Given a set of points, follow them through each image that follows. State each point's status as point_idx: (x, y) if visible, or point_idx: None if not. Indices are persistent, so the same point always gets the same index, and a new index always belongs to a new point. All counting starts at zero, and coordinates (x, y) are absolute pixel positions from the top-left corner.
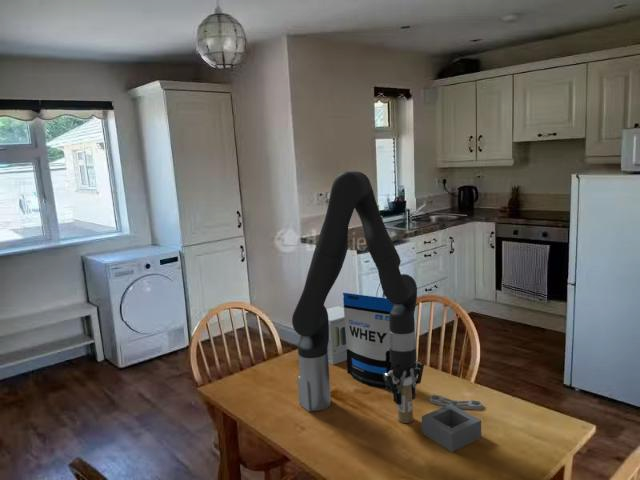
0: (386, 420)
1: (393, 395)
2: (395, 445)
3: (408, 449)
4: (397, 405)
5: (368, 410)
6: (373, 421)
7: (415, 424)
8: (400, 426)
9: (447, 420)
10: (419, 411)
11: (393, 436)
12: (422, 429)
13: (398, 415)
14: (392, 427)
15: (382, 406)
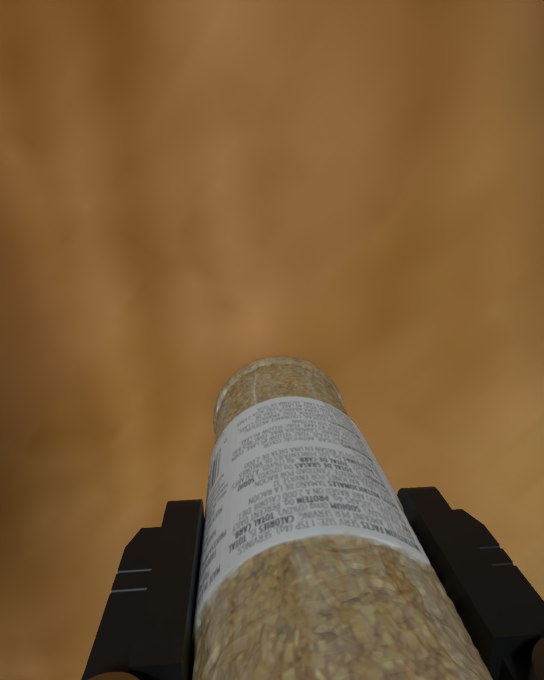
0: (136, 332)
1: (102, 620)
2: (9, 613)
3: (63, 674)
4: (218, 458)
5: (80, 58)
6: (19, 276)
7: None
8: (182, 462)
9: None
10: (456, 378)
11: (55, 532)
12: None
13: (219, 417)
14: (118, 441)
15: (258, 89)
